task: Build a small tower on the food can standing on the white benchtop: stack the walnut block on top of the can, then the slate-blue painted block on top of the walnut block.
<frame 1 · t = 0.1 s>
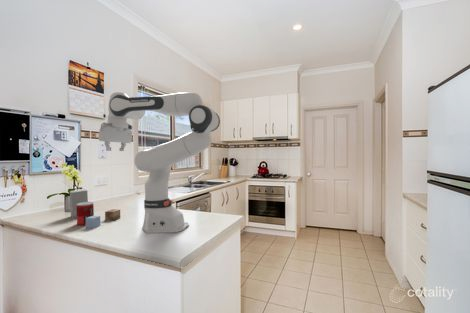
hand: (115, 151, 119), 39 cm above the countertop, tool pointing down, fingers open, 8 cm apart
walnut block: (112, 219, 131), on the countertop
canned food: (85, 223, 123), on the countertop
skincare box: (79, 216, 140), on the countertop
slate block: (93, 226, 118), on the countertop
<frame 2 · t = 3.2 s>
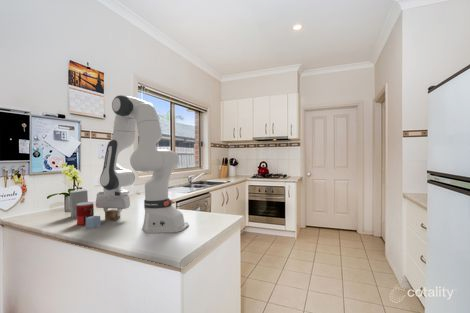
hand: (112, 215, 131), 2 cm above the countertop, tool pointing down, fingers closed on walnut block, 6 cm apart
walnut block: (112, 219, 131), on the countertop, touching gripper
everything else where it was.
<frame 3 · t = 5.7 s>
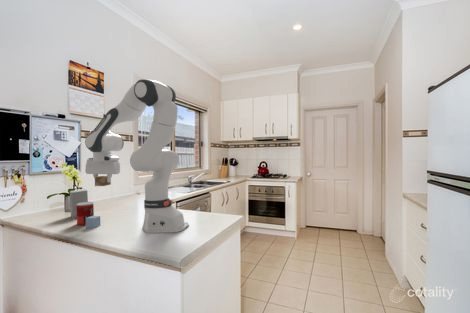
hand: (102, 182, 129), 22 cm above the countertop, tool pointing down, fingers closed on walnut block, 5 cm apart
walnut block: (102, 185, 129), point 20 cm above the countertop, touching gripper
everything else where it was.
when the fingers open (14 cm above the countertop, at t = 8.0 s): walnut block drops 1 cm, resting on canned food.
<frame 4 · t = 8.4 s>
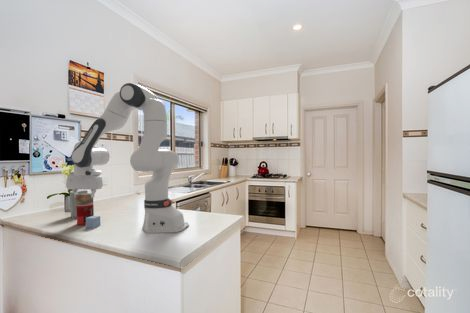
hand: (84, 197, 123), 14 cm above the countertop, tool pointing down, fingers open, 8 cm apart
walnut block: (84, 203, 123), point 11 cm above the countertop, touching canned food
canned food: (85, 224, 123), on the countertop, touching walnut block
everything else where it was.
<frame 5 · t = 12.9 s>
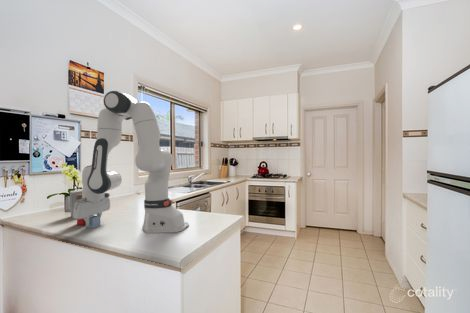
hand: (93, 223, 118), 2 cm above the countertop, tool pointing down, fingers closed on slate block, 4 cm apart
slate block: (93, 226, 118), on the countertop, touching gripper
everything else where it was.
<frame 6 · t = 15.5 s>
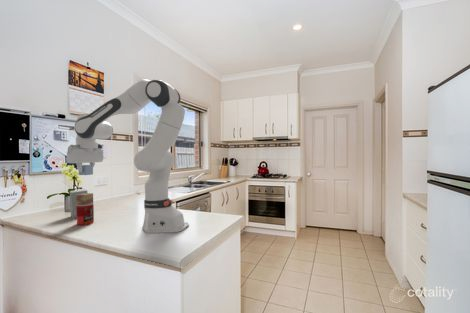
hand: (85, 171, 121), 28 cm above the countertop, tool pointing down, fingers closed on slate block, 4 cm apart
slate block: (85, 174, 121), point 27 cm above the countertop, touching gripper
everything else where it was.
when the fingers open (19 cm above the countertop, at t = 18.1 s): slate block drops 1 cm, resting on walnut block.
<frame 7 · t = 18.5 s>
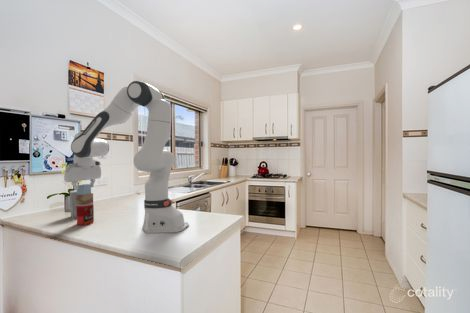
hand: (84, 188, 123), 19 cm above the countertop, tool pointing down, fingers open, 8 cm apart
walnut block: (84, 203, 123), point 11 cm above the countertop, touching canned food, slate block
slate block: (84, 194, 123), point 16 cm above the countertop, touching walnut block
everything else where it was.
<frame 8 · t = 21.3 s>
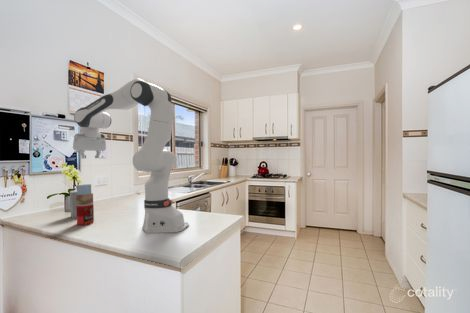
hand: (90, 158, 134), 35 cm above the countertop, tool pointing down, fingers open, 8 cm apart
walnut block: (84, 203, 123), point 11 cm above the countertop, touching canned food
slate block: (84, 194, 123), point 16 cm above the countertop
everything else where it was.
at the end: walnut block 0.1 cm from the canned food (horizontally); slate block 0.1 cm from the walnut block (horizontally); slate block point 15.9 cm above the countertop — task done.
